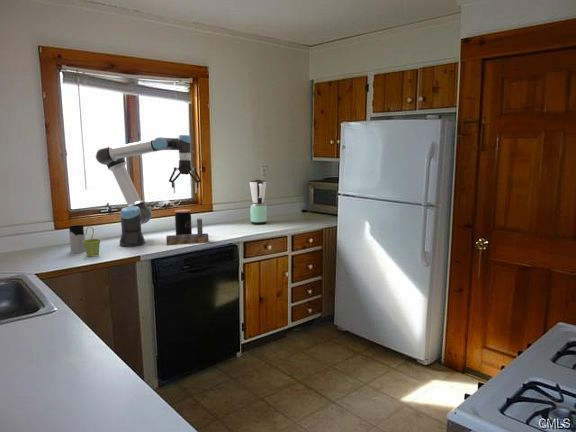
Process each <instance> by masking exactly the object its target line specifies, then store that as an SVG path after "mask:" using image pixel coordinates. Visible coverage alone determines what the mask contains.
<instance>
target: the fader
mask: <svg viewBox="0 0 576 432" xmlns="http://www.w3.org/2000/svg"><path fill="white" fill-rule="evenodd" d="M196 229H197V230H196V231H197V233H196V234H198V235H203V234H204V233H203V218H196Z"/></svg>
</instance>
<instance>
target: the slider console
mask: <svg viewBox="0 0 576 432" xmlns="http://www.w3.org/2000/svg"><path fill="white" fill-rule="evenodd" d="M165 237H166V241H165V242H166V245H167V246H168V245H169V246H171V245H189V244H202V243H204V244H205V243H210V240H209V234H208V233H206V232H205V233H203V235H198V233H192V234H187V235H176V234H174V235H166V236H165Z"/></svg>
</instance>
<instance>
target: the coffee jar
mask: <svg viewBox="0 0 576 432" xmlns="http://www.w3.org/2000/svg"><path fill="white" fill-rule="evenodd" d="M191 210H192V209H187V208H185V209H183V208H182V209H176V210H174V213H175V214H174V221H175V222H174V224H175V235H187V234H193V231H192V216H191V215H192V214H191Z"/></svg>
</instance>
